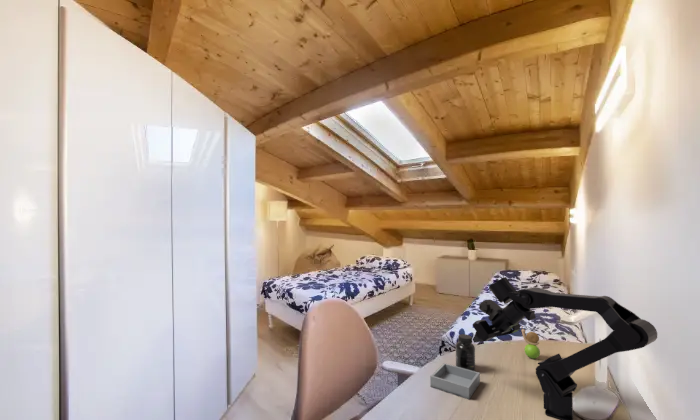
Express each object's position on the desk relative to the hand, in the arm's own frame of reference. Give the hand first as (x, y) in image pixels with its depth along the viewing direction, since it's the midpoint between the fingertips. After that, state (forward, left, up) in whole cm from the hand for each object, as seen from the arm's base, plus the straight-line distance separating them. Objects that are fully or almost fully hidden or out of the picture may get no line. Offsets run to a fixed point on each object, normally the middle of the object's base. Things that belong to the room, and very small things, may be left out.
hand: (482, 338), depth 112 cm
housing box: (+6, +11, -13) cm, 18 cm away
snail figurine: (-11, -29, -14) cm, 34 cm away
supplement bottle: (+7, -3, -14) cm, 15 cm away
